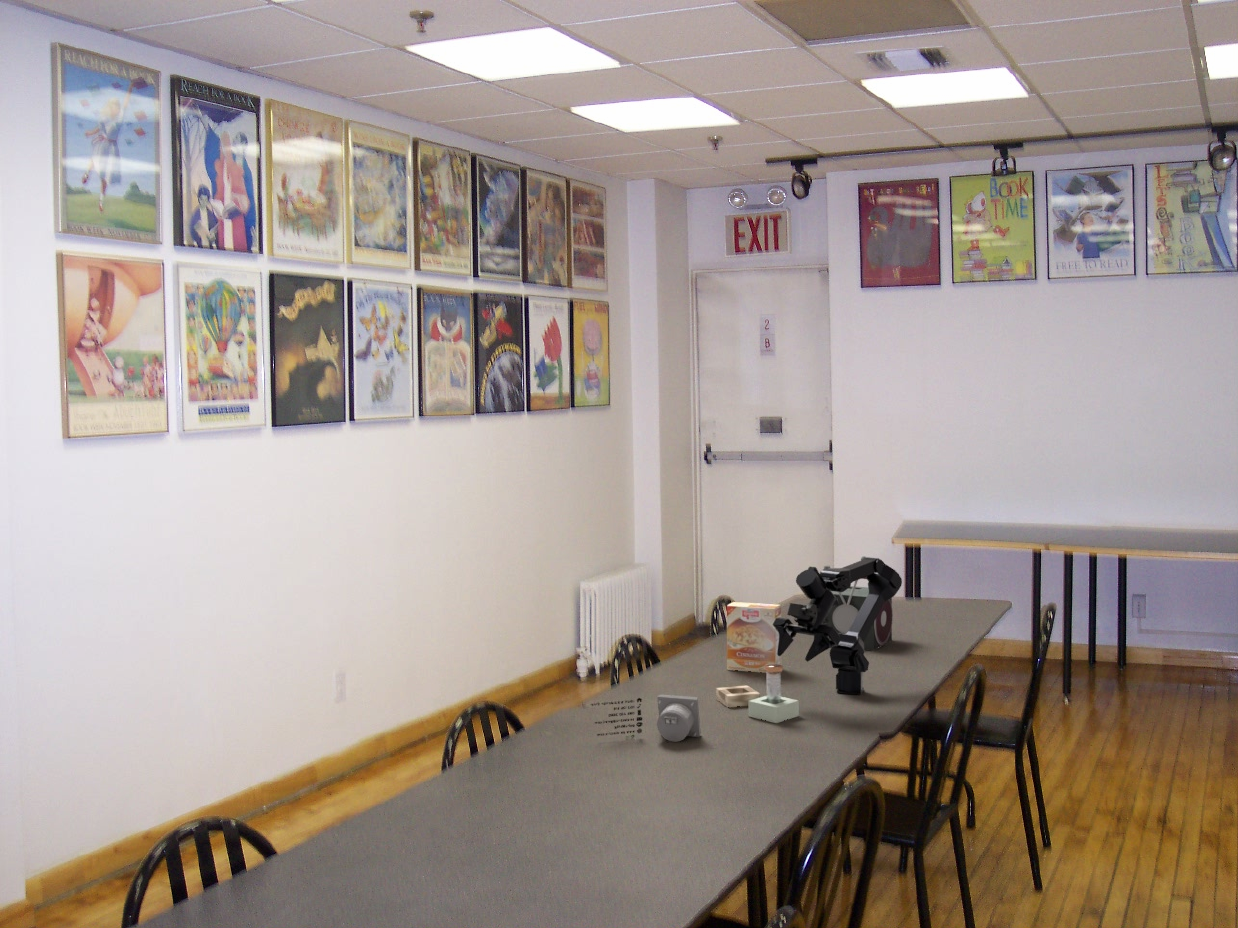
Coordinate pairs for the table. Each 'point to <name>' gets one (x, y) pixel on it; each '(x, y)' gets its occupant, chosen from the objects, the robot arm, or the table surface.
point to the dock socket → (773, 709)
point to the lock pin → (773, 682)
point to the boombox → (849, 609)
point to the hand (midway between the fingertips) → (792, 657)
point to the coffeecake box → (752, 636)
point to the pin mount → (736, 695)
